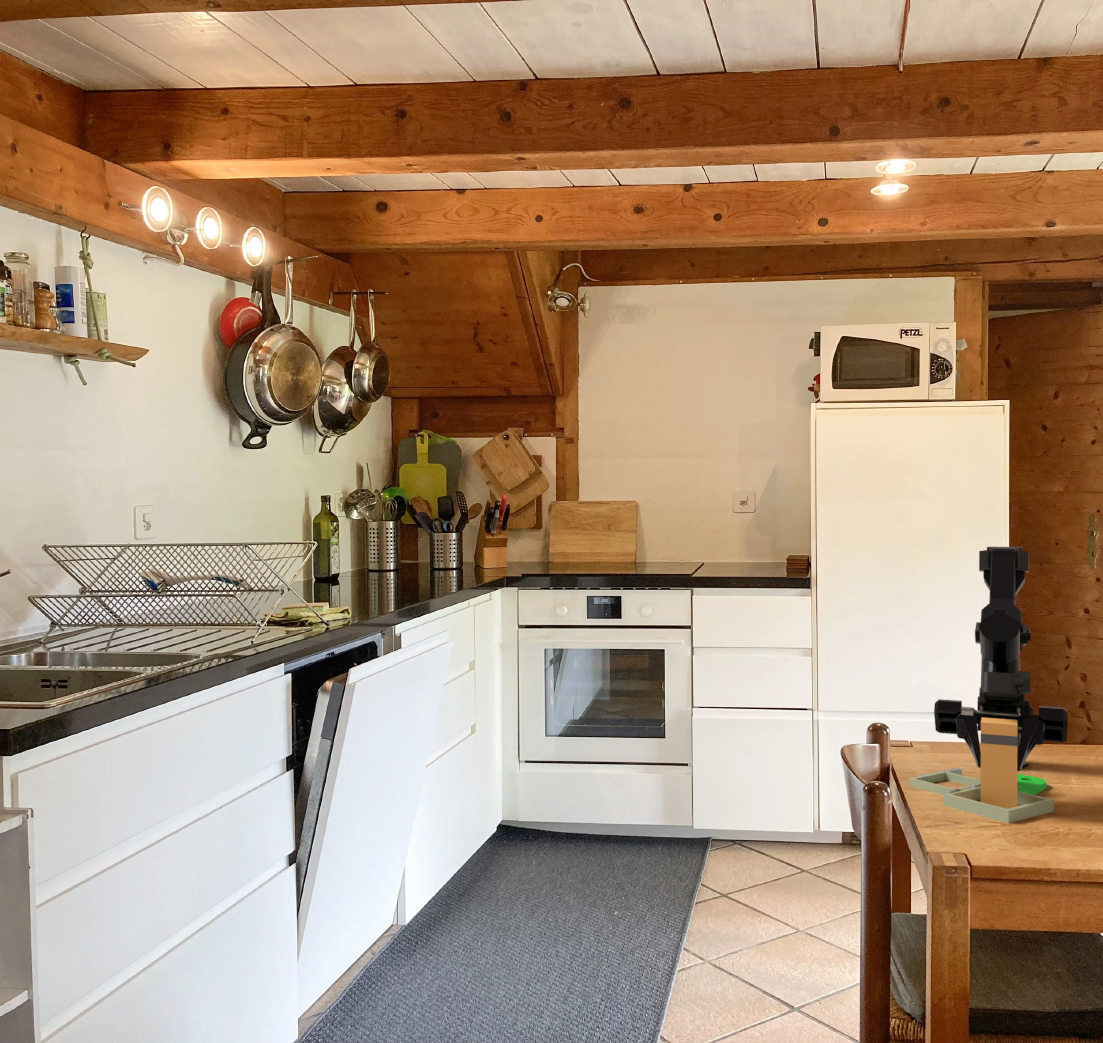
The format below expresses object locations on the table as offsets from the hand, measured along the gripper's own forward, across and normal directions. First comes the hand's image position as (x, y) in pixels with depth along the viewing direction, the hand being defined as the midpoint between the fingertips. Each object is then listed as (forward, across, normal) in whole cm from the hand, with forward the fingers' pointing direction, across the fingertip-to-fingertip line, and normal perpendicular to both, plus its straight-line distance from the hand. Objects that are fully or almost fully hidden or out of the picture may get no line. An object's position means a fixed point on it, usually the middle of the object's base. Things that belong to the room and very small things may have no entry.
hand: (998, 768), depth 160 cm
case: (+4, 0, +6) cm, 8 cm away
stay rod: (-9, -9, +20) cm, 24 cm away
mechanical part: (-5, +3, +16) cm, 17 cm away
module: (+3, 0, +6) cm, 6 cm away
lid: (-3, -7, +14) cm, 16 cm away
